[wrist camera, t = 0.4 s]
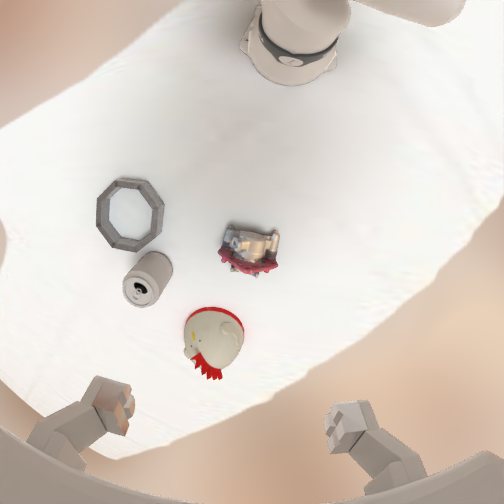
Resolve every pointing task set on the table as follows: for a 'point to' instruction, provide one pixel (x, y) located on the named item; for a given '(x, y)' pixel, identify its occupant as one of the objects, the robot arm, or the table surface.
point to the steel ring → (108, 228)
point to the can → (147, 280)
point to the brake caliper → (249, 251)
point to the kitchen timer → (213, 339)
